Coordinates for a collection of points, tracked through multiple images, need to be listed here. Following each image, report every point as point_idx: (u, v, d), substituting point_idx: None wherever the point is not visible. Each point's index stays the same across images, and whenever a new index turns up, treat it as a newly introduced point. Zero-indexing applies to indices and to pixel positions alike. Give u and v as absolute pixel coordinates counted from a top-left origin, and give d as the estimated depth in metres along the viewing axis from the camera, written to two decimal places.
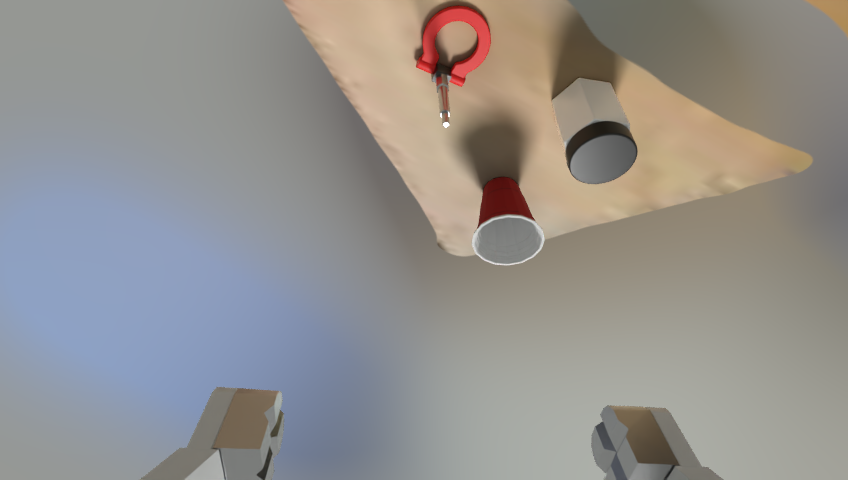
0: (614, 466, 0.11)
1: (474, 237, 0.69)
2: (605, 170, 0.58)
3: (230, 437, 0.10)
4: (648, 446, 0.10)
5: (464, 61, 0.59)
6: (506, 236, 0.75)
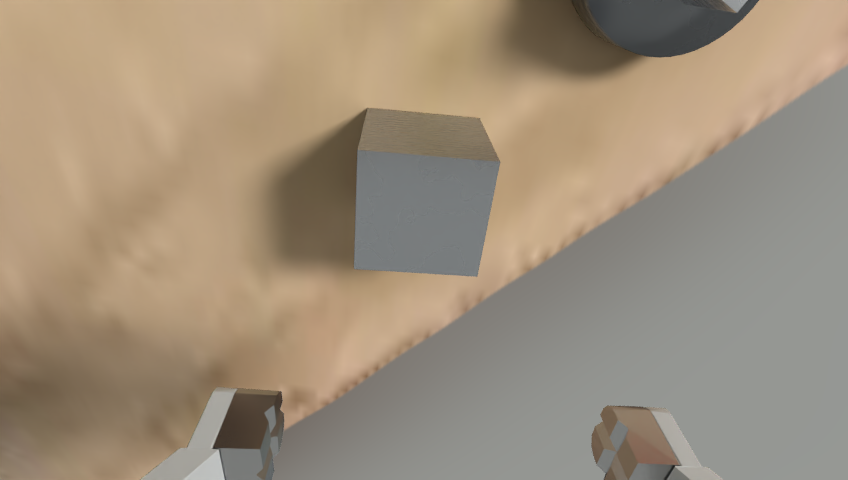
0: (614, 466, 0.11)
1: None
2: None
3: (230, 437, 0.10)
4: (648, 446, 0.10)
5: None
6: None
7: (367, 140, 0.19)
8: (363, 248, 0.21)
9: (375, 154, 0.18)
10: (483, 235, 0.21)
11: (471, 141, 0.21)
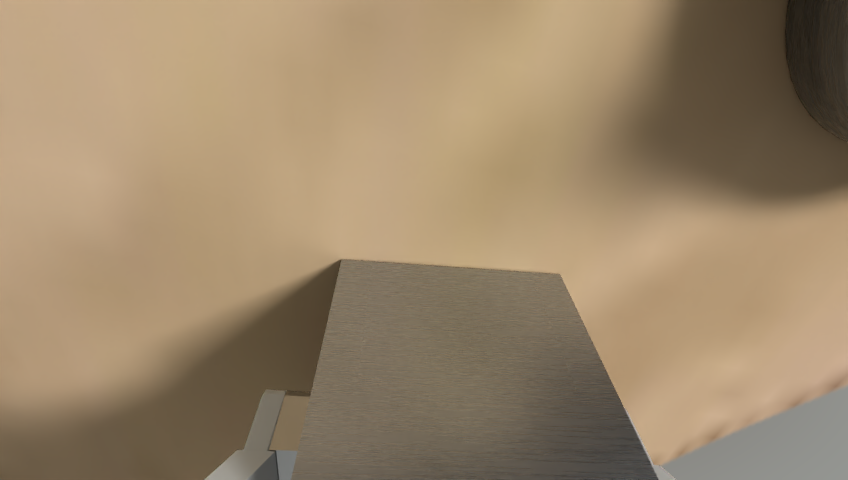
0: None
1: None
2: None
3: (285, 439, 0.10)
4: None
5: None
6: None
7: (323, 416, 0.08)
8: None
9: None
10: None
11: (569, 385, 0.09)
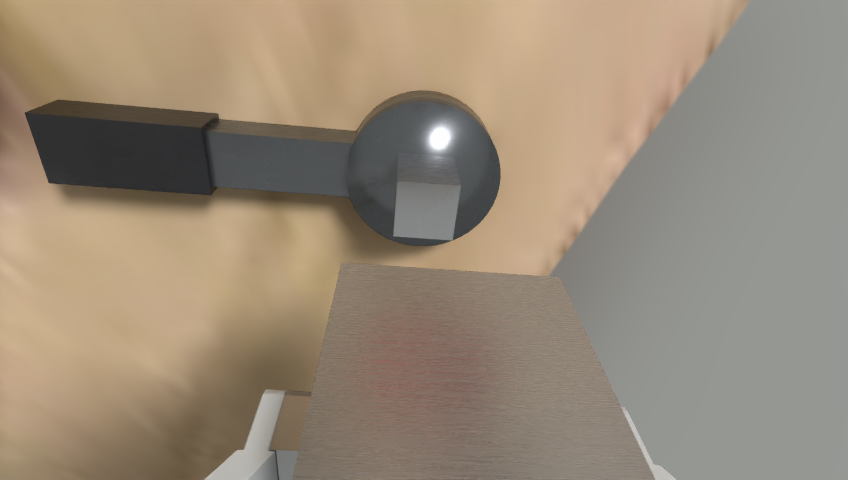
0: None
1: None
2: None
3: (285, 439, 0.10)
4: None
5: None
6: None
7: (323, 421, 0.08)
8: None
9: None
10: None
11: (568, 389, 0.09)
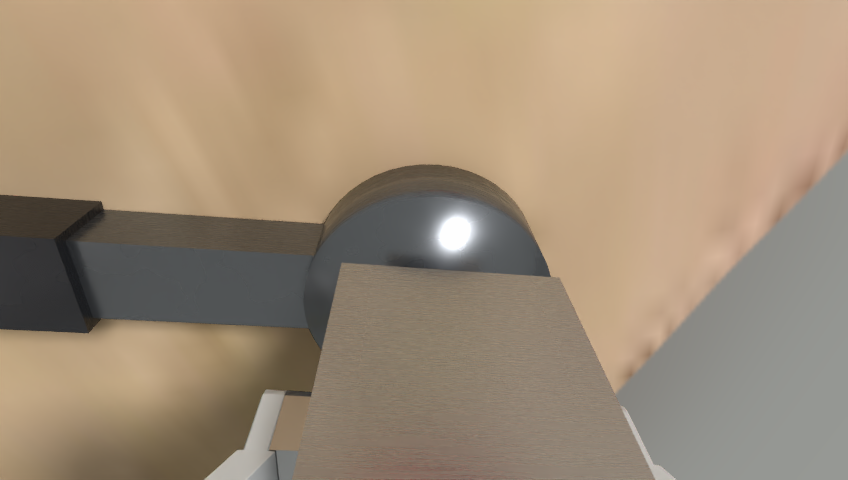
0: None
1: None
2: None
3: (284, 439, 0.10)
4: None
5: None
6: None
7: (323, 420, 0.08)
8: None
9: None
10: None
11: (568, 390, 0.09)
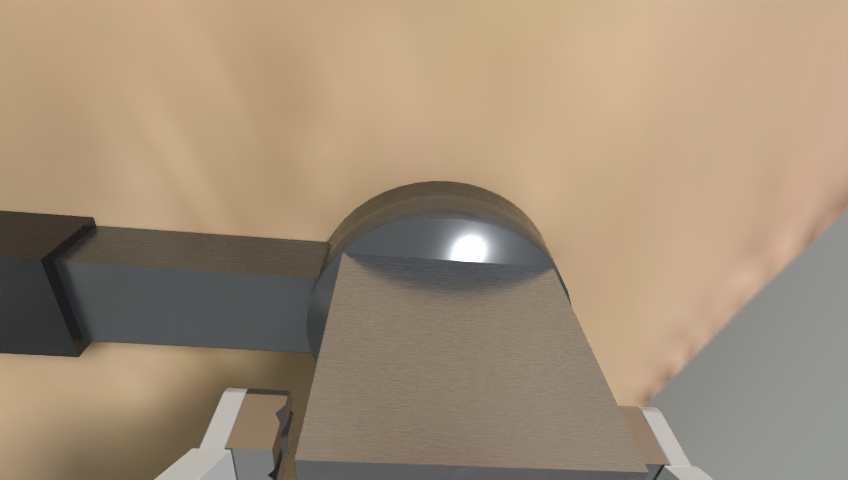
0: None
1: None
2: None
3: (242, 438, 0.10)
4: (638, 445, 0.10)
5: None
6: None
7: (326, 398, 0.08)
8: None
9: (342, 467, 0.07)
10: None
11: (559, 371, 0.09)
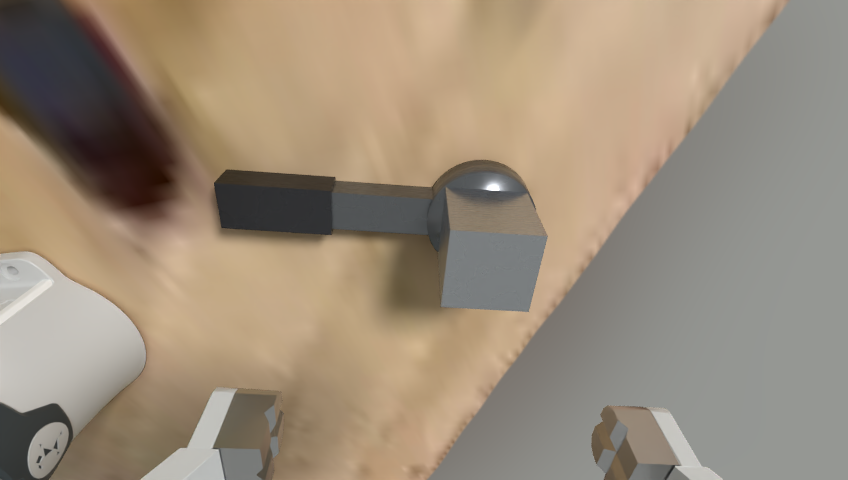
0: (614, 466, 0.11)
1: None
2: None
3: (230, 437, 0.10)
4: (648, 446, 0.10)
5: None
6: None
7: (454, 220, 0.28)
8: (449, 293, 0.29)
9: (462, 233, 0.27)
10: (534, 283, 0.29)
11: (525, 217, 0.29)
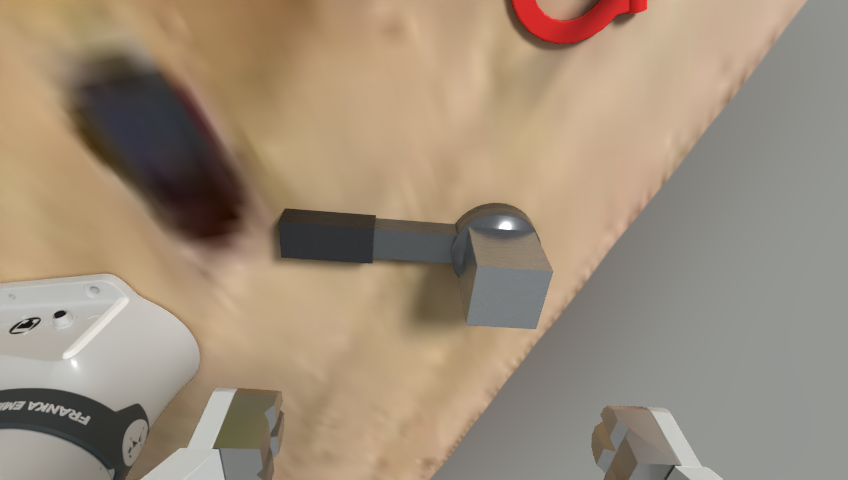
0: (614, 466, 0.11)
1: None
2: None
3: (230, 437, 0.10)
4: (648, 446, 0.10)
5: None
6: None
7: (479, 257, 0.35)
8: (473, 314, 0.37)
9: (486, 268, 0.34)
10: (541, 307, 0.37)
11: (534, 254, 0.37)
